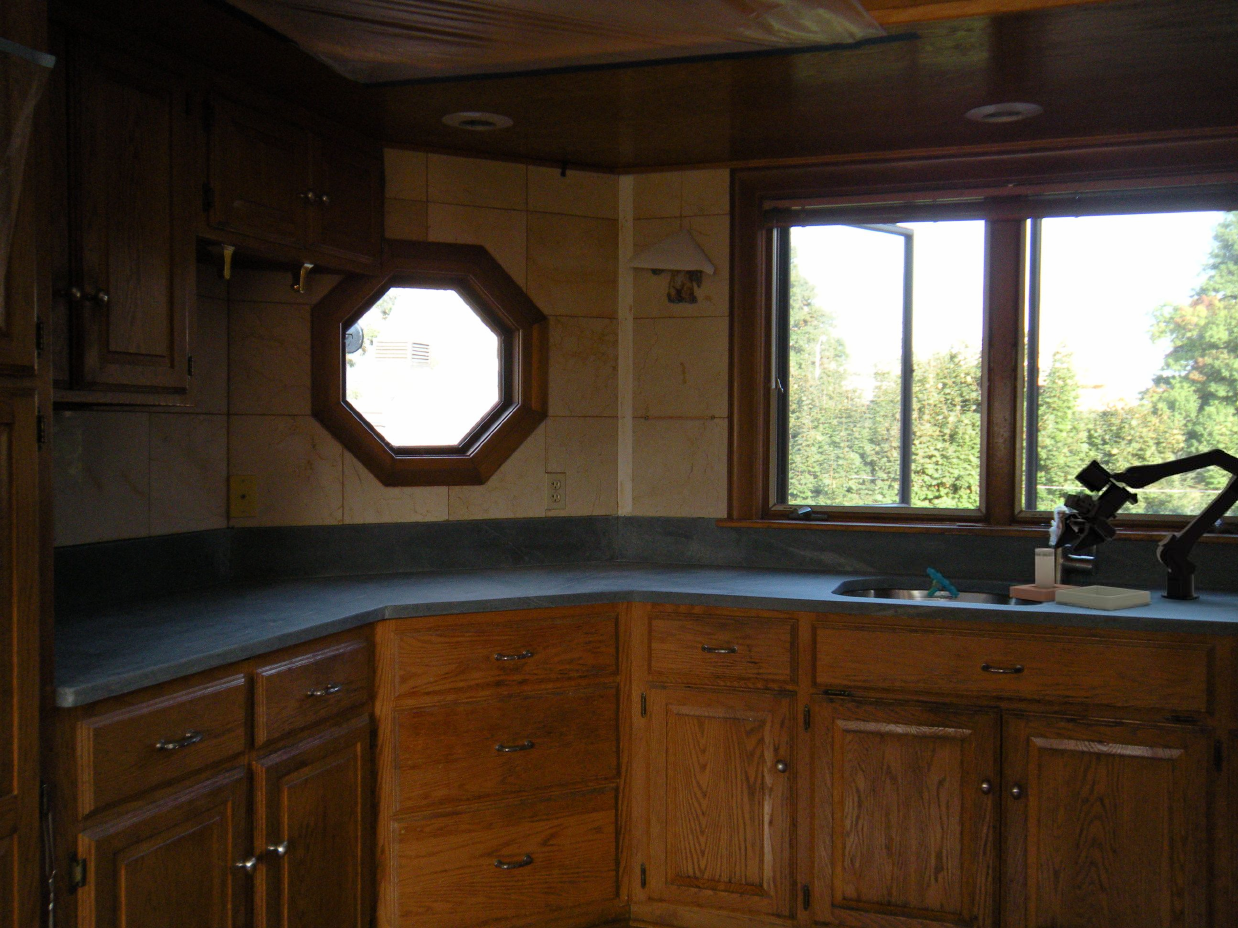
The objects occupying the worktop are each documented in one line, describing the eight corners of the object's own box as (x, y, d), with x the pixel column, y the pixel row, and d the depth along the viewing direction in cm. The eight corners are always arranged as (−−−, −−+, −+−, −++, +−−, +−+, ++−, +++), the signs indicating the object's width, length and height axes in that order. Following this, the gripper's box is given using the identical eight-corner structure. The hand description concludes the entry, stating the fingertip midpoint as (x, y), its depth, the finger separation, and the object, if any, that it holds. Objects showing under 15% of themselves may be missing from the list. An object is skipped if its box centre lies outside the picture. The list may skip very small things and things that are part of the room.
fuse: (1042, 595, 263) (1042, 547, 262) (1058, 597, 259) (1057, 549, 259) (1031, 596, 260) (1031, 548, 260) (1047, 598, 257) (1046, 550, 256)
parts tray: (1096, 597, 258) (1096, 585, 257) (1150, 604, 246) (1150, 591, 246) (1055, 603, 249) (1055, 590, 249) (1109, 610, 237) (1109, 597, 237)
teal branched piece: (965, 593, 256) (934, 564, 257) (948, 610, 256) (918, 581, 257) (954, 593, 267) (925, 566, 268) (938, 609, 267) (909, 582, 268)
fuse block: (1045, 592, 268) (1045, 582, 268) (1080, 596, 259) (1080, 586, 259) (1009, 596, 260) (1009, 586, 260) (1044, 601, 252) (1044, 591, 252)
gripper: (1066, 481, 269) (1025, 524, 269) (1104, 484, 251) (1060, 530, 250) (1096, 511, 270) (1055, 554, 269) (1136, 516, 251) (1091, 562, 251)
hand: (1064, 549), depth 260 cm, fingers open, 9 cm apart
